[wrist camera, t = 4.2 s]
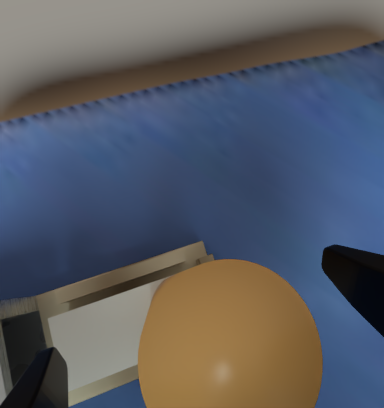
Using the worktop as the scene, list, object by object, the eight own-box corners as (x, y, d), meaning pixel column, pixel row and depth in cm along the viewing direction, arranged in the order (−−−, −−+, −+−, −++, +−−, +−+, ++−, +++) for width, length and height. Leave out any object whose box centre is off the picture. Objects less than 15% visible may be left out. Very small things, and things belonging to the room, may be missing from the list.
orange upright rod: (196, 266, 18) (280, 236, 6) (214, 320, 17) (352, 416, 5) (68, 311, 16) (-191, 400, 4) (82, 371, 15) (-180, 686, 3)
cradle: (200, 242, 19) (206, 236, 17) (232, 335, 18) (244, 344, 15) (41, 295, 17) (23, 297, 15) (65, 404, 16) (49, 425, 13)
